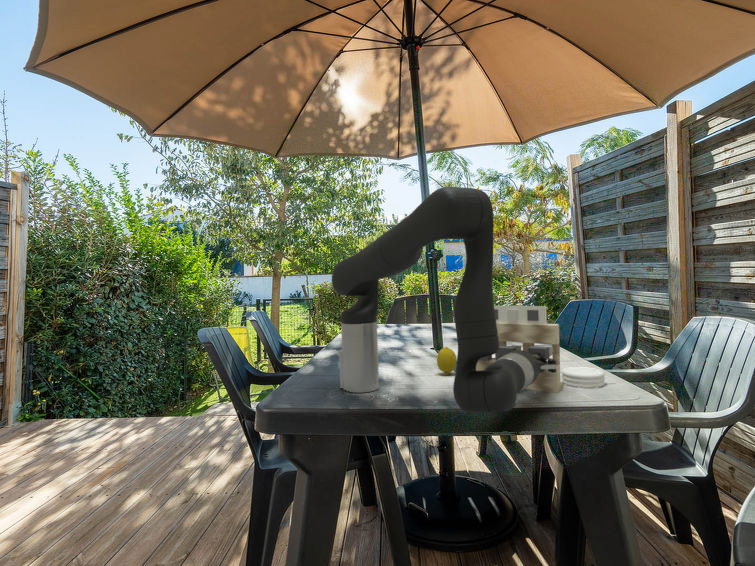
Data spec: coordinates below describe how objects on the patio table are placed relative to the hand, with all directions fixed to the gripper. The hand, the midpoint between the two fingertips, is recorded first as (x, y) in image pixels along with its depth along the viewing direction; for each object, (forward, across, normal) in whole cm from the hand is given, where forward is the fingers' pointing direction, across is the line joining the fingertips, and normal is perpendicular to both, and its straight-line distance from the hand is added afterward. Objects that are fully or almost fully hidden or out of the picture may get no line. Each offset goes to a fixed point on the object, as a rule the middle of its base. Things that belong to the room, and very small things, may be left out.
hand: (537, 356), depth 106 cm
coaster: (+16, -7, +9) cm, 20 cm away
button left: (+5, +14, +2) cm, 15 cm away
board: (+7, +7, +9) cm, 13 cm away
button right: (+5, 0, +2) cm, 5 cm away
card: (+5, +7, -7) cm, 11 cm away
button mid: (+3, +7, +2) cm, 8 cm away
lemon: (+10, +28, +9) cm, 31 cm away
